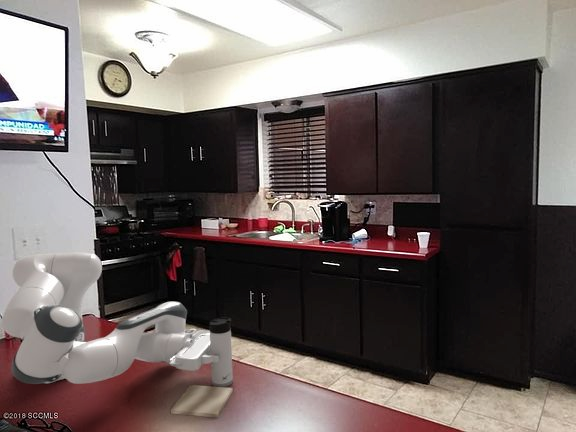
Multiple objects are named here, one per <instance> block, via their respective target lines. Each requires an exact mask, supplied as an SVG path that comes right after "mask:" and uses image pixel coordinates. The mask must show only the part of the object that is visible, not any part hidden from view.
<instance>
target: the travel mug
mask: <svg viewBox="0 0 576 432" xmlns="http://www.w3.org/2000/svg"><path fill="white" fill-rule="evenodd" d="M231 323H232V318H231V317H230V318H229V317H226V316H225V317H219V318H215V319H212V321H210V322H209V331H210V349H211V354H210V355H214V354H219V355H220V360H219V361H218V362H211V363H210V364H211V365H210V366H211V367H210V368H211V369H210V370H211V385H212V386H213V387H225V388H227V387H229V386H230V385H231V384H233V381H234V379H233V377H234V376H233V375H234V374H233V354H232V352H233V351H232V331H231V329H232V328H231Z"/></svg>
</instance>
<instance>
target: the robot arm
mask: <svg viewBox="0 0 576 432" xmlns="http://www.w3.org/2000/svg"><path fill="white" fill-rule="evenodd" d="M102 271H103V265H102V261H101V259H100V257H98V255H96V254H95V253H90V252H85V251H84V252H82V251H74V252H73V251H72V252H56V253H55V252H54V253H53V252H51V253H36V254H33V255H32V254H31V255H28V256H23V257H20V258H19V259H18V260H17V261H16V262H15V264H14V266H13V268H12V278H13V280H14V282H15V284H16V285H17V286H18V287H19V289H18V290H17V291H16V292H15V294H14V295H13V296H12V297H11V299H10V301H9V302H8V304H7V305H6V308H5V309H4V312H3V315H2V317H1V326H2V328H3V330H4V331H5V333H6V334H7V335H8V336H9V335H10V336H11V337H14V338H20V339H21V340H22V342H21V343H20V345H19V347H18V350H17V352H16V353H14V356H13V359H12V363H11V373H12V375H13V377H14V378H15V379H16V380H18V381H19V382H22V383H24V384H28V385H29V384H31V385H39V384H51V383H55V382H56V381H60V380H64V379H66V380H67V381H68V382H69V383H72V384H74V385H75V384H77V385H78V384H79V385H80V384H90V383H91V384H92V383H95V382H96V383H97V382H100V381H105V380H107V379H110V378H114V377H117V376H119V375H121V374H123V373H124V372H125V371H127V370H128V369H129V368H130V367H131V365H132V364H133V362H134V361H135V360H137V361H142V362H147V363H148V362H149V363H167V364H169V365H170V366H171V367H175V368H176V369H179V370H183V371H190V372H195V371H198V370H199V369H200V368H201V367H202V366H203V364H204V365H206V364H211V362H218V361H219V360H220V355H219V354H214V355H211V349H210V330H201V329H200V330H197V329H196V328H190V329H188V330H186V320H187V315H188V309H186V307H185V306H184V305H183V304H182V303H181V302H180V301H167V302H164V303H160V304H159V305H157V306H155V307H154V308H153V307H152V308H151V309H149V310H146V311H144V312H141V313H138V314H136V315H134V316H131V317H129V318H126V319H124V320H122V321H120V322H119V323H118V324H117V326H116V327H115V328H114V330H113V331H112V332H110V333H109V334H108V335H106V336H105V337H99V338H96V339H93V340H89V341H85V339H86V331H85V324H84V323H83V300H84V297H85V294H86V293H87V291H88V290H89V289H90V287H92V286H93V285H94V284H95V283H96V282H97V281H98V280H99V278H100V277H101V275H102ZM154 325H155V327H154V329H155V332H145V330H146V329H148V328H149V327H151V326H154Z"/></svg>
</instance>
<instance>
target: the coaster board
mask: <svg viewBox="0 0 576 432" xmlns="http://www.w3.org/2000/svg"><path fill="white" fill-rule="evenodd" d="M233 390H234V389H233V387H216V386H213V385H212V386H210V385H195V384H190V385H189V386H188V388H187V389H186V390H185V391H184V393H183V394H182V395H181V397H179V399H178V401H176V403H175V404H174V406H173V407H171V409H170V412H171V414H173V415H185V416H195V417H208V418H209V417H210V418H219V416H220V414H221V412H222V411H223V409H224V408H225V405H226V404H227V402H228V401H229V398H231V395H232V393H233Z"/></svg>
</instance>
